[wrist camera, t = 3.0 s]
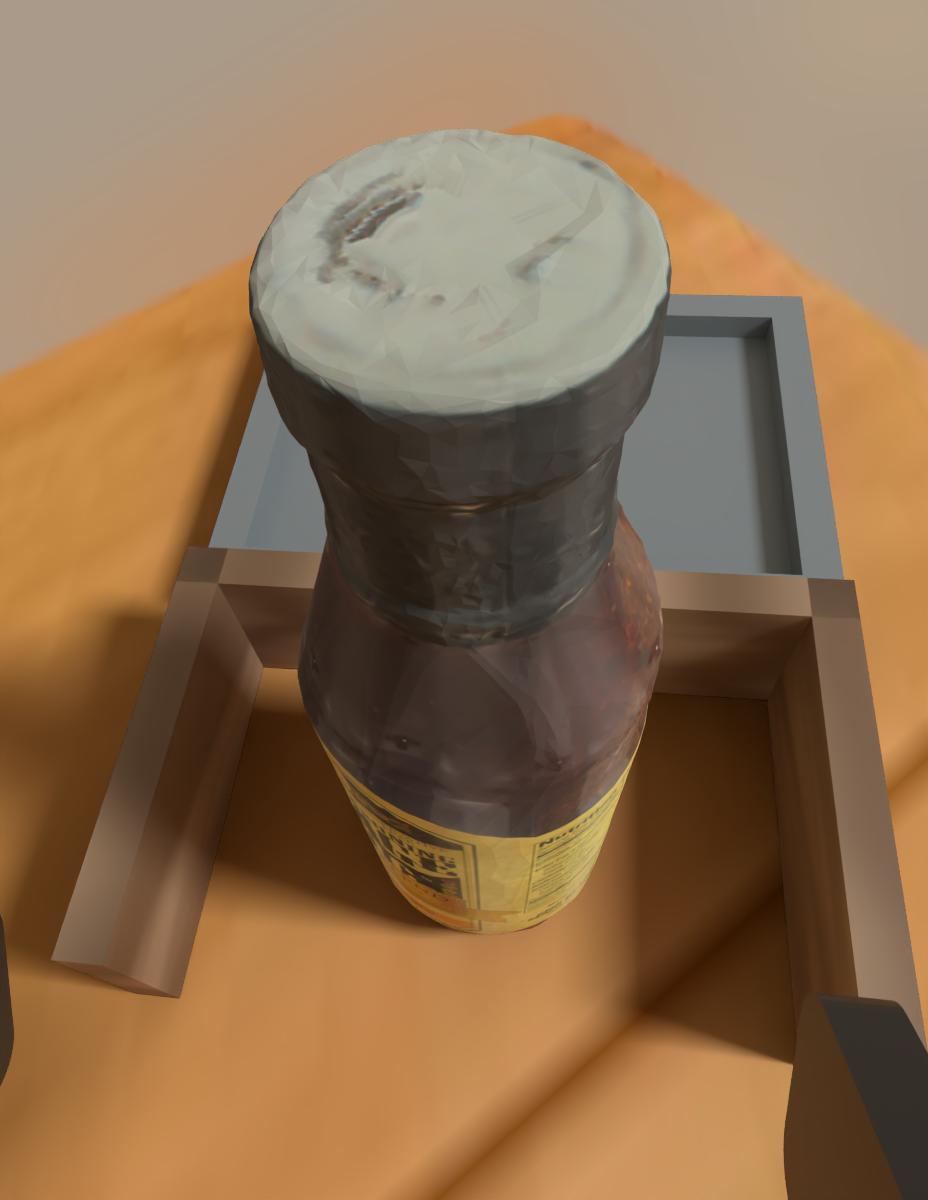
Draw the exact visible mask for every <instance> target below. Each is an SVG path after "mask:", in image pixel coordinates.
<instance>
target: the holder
mask: <svg viewBox="0 0 928 1200" xmlns="http://www.w3.org/2000/svg"><path fill="white" fill-rule="evenodd" d="M321 557H322V553H313V552H293V551H274V550H254V549H235V548H215V547H196V546H188V547H187V550H186V553H185V556H184V559H183V562H182V565H181V568H180V571H179V574H178V577H177V580H176V583H175V586H174V589H173V592H172V595H171V598H170V601H169V604H168V607H167V610H166V613H165V617H164V620H163V623H162V626H161V629H160V632H159V635H158V638H157V641H156V644H155V647H154V650H153V653H152V656H151V659H150V662H149V665H148V668H147V671H146V674H145V677H144V680H143V683H142V686H141V689H140V692H139V695H138V698H137V701H136V704H135V707H134V710H133V713H132V716H131V719H130V722H129V725H128V728H127V731H126V734H125V737H124V740H123V743H122V746H121V750H120V753H119V756H118V759H117V762H116V765H115V768H114V771H113V774H112V777H111V780H110V783H109V786H108V789H107V792H106V795H105V798H104V801H103V804H102V807H101V810H100V813H99V816H98V819H97V822H96V825H95V828H94V831H93V834H92V837H91V840H90V843H89V846H88V849H87V852H86V855H85V858H84V861H83V864H82V867H81V870H80V873H79V876H78V879H77V882H76V886H75V889H74V892H73V895H72V898H71V901H70V904H69V907H68V910H67V913H66V916H65V919H64V922H63V925H62V928H61V931H60V934H59V937H58V940H57V943H56V946H55V949H54V952H53V955H52V958H51V960H52V961H54V962H57V963H60V964H62V965H65V966H67V967H70V968H72V969H75V970H77V971H80V972H83V973H85V974H88V975H90V976H93V977H95V978H98V979H100V980H103V981H105V982H108V983H111V984H113V985H116V986H118V987H121V988H123V989H126V990H128V991H131V992H133V993H136V994H143V995H153V996H162V997H171V998H180V995H181V991H182V987H183V983H184V979H185V975H186V971H187V967H188V963H189V959H190V955H191V951H192V947H193V943H194V939H195V935H196V931H197V927H198V923H199V919H200V916H201V912H202V908H203V904H204V900H205V896H206V892H207V888H208V884H209V880H210V876H211V872H212V868H213V864H214V860H215V856H216V852H217V848H218V844H219V840H220V836H221V832H222V828H223V825H224V821H225V817H226V813H227V809H228V805H229V801H230V797H231V793H232V789H233V785H234V781H235V777H236V773H237V769H238V765H239V761H240V757H241V753H242V749H243V745H244V741H245V737H246V733H247V730H248V726H249V722H250V718H251V714H252V710H253V706H254V702H255V698H256V694H257V690H258V686H259V682H260V678H261V674H262V670H263V667H274V668H289V669H298V651H299V644H300V639H301V635H302V631H303V627H304V623H305V619H306V616H307V612H308V608H309V604H310V600H311V596H312V593H313V589H314V585H315V582H316V578H317V574H318V570H319V566H320V562H321ZM653 571H654V575H655V578H656V582H657V588H658V593H659V595H660V597H661V611H662V618H663V632H662V634H663V643H662V644H663V650H662V654H661V657H660V663H659V668H658V673H657V676H656V680H655V684H654V688H653V693H668V694H683V695H699V696H714V697H729V698H744V699H759V700H767V705H768V717H769V729H770V740H771V752H772V763H773V775H774V787H775V798H776V810H777V821H778V833H779V845H780V856H781V868H782V879H783V891H784V903H785V914H786V926H787V937H788V949H789V961H790V972H791V984H792V996H793V1007H794V1019H795V1030H796V1042H797V1036H798V1029H799V1022H800V1015H801V1009H802V1005H803V1002H804V999H805V997H806V995H807V994H808V993H810V992H816V993H826V994H835V995H845V996H855V997H864V998H874V999H884V1000H893V1001H896V1002H897V1003H899V1004H900V1005H901V1007H902V1008H903V1009H904V1011H905V1012H906V1014H907V1016H908V1018H909V1020H910V1021H911V1023H912V1025H913V1027H914V1029H915V1031H916V1032H917V1034H918V1036H919V1038H920V1040H921V1042H922V1043H923V1045H924V1047H925V1049H926V1051H927V1053H928V1050H927V1044H926V1037H925V1031H924V1025H923V1018H922V1012H921V1005H920V999H919V993H918V986H917V980H916V973H915V967H914V961H913V954H912V948H911V941H910V935H909V929H908V922H907V916H906V909H905V903H904V897H903V890H902V884H901V877H900V871H899V864H898V858H897V852H896V845H895V839H894V832H893V826H892V820H891V813H890V807H889V800H888V794H887V788H886V781H885V775H884V768H883V762H882V756H881V749H880V743H879V736H878V730H877V724H876V717H875V711H874V704H873V698H872V692H871V685H870V679H869V672H868V666H867V660H866V653H865V647H864V640H863V634H862V628H861V621H860V615H859V608H858V602H857V595H856V589H855V583H854V580H840V579H820V578H801V577H781V576H762V575H742V574H723V573H703V572H684V571H664V570H653Z"/></svg>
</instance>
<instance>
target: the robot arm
mask: <svg viewBox="0 0 928 1200" xmlns="http://www.w3.org/2000/svg"><path fill="white" fill-rule="evenodd" d="M13 1042H14V1028H13V1018H12V1008H11V998H10V988H9V978H8V968H7V958H6V948H5V937H4V928H3V922H2V918H1V916H0V1086H1V1084H2V1082H3V1079H4V1077H5V1074H6V1072H7V1069H8V1066H9V1063H10V1059H11V1055H12V1050H13ZM784 1170H785V1180H786V1188H787V1195H788V1200H928V1053H927V1051H926V1049H925V1047H924V1045H923V1043H922V1042H921V1040H920V1038H919V1036H918V1034H917V1032H916V1031H915V1029H914V1027H913V1025H912V1023H911V1021H910V1020H909V1018H908V1016H907V1014H906V1012H905V1011H904V1009H903V1008H902V1007H901V1005H900V1004H899V1003H897V1002H896V1001H893V1000H884V999H874V998H864V997H855V996H845V995H835V994H826V993H816V992H810V993H808V994H807V995H806V997H805V999H804V1002H803V1005H802V1009H801V1015H800V1022H799V1029H798V1036H797V1043H796V1050H795V1057H794V1064H793V1072H792V1079H791V1086H790V1093H789V1100H788V1107H787V1114H786V1121H785V1130H784Z"/></svg>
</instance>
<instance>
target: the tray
mask: <svg viewBox="0 0 928 1200" xmlns="http://www.w3.org/2000/svg"><path fill="white" fill-rule="evenodd" d="M617 480H618V489H617V499H618V501H619V502H620V504H621V505H622V508H623V512H624V514H625V516H626V518H627V519H628V521H629V523H630V524H631V526H632V528H633V529H634V531H635V532H636V533H637V535H638V536H639V537H640V539H641V540H642V542H643V546H644V550H645V553H646V555H647V557H648V559H649V561H650V564H651V566H652V569H653V570H664V571H684V572H703V573H723V574H742V575H762V576H781V577H801V578H820V579H840V580H844V576H843V569H842V563H841V556H840V549H839V543H838V536H837V529H836V522H835V516H834V509H833V502H832V496H831V489H830V482H829V475H828V469H827V462H826V455H825V449H824V442H823V435H822V428H821V422H820V415H819V408H818V402H817V395H816V388H815V381H814V375H813V368H812V361H811V355H810V348H809V341H808V334H807V328H806V321H805V314H804V308H803V301H802V297H789V296H734V295H678V294H670V298H669V302H668V308H667V315H666V323H665V331H664V338H663V345H662V350H661V355H660V363H659V366H658V369H657V373H656V376H655V379H654V383H653V386H652V390H651V394H650V397H649V399H648V400H647V402H646V404H645V406H644V407H643V409H642V410H641V411H640V413H639V414H638V416H637V417H636V419H635V420H634V422H633V424H632V425H631V426H630V428H629V429H628V430H627V431H626V432H625V435H624V442H623V449H622V456H621V461H620V466H619V472H618V477H617ZM326 537H327V530H326V526H325V516H324V503H323V500H322V497H321V493H320V489H319V487H318V484H317V481H316V478H315V476H314V473H313V471H312V469H311V466H310V463H309V458H308V454H307V451H306V449H305V448H304V447H303V446H301V445H300V444H299V443H298V442H297V441H296V439H295V438H294V437H293V436H292V435H291V433H290V432H289V430H288V429H287V427H286V425H285V424H284V422H283V420H282V418H281V417H280V414H279V412H278V409H277V407H276V404H275V402H274V399H273V397H272V395H271V392H270V390H269V387H268V385H267V377H266V373H265V369H264V372H263V375H262V378H261V382H260V385H259V388H258V391H257V394H256V397H255V401H254V404H253V407H252V410H251V413H250V416H249V420H248V423H247V426H246V429H245V432H244V435H243V439H242V442H241V445H240V448H239V451H238V454H237V458H236V461H235V464H234V467H233V470H232V473H231V477H230V480H229V483H228V486H227V489H226V492H225V496H224V499H223V502H222V505H221V508H220V512H219V515H218V518H217V521H216V524H215V527H214V531H213V534H212V537H211V540H210V543H209V546H208V547H215V548H235V549H254V550H274V551H293V552H313V553H323V549H324V545H325V541H326Z"/></svg>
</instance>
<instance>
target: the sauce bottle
mask: <svg viewBox="0 0 928 1200" xmlns="http://www.w3.org/2000/svg"><path fill="white" fill-rule="evenodd" d="M671 273H672V269H671V262H670V254H669V246H668V243H667V241H666V238H665V235H664V231H663V228H662V224H661V221H660V220H659V218H658V217H657V215H656V213H655V212H654V210H653V209H652V207H651V206H650V205H649V204H648V203H647V202H646V201H645V200H644V199H643V198H641V197H640V196H639V195H638V194H637V193H636V192H635V191H634V190H633V189H632V188H631V187H630V186H629V185H628V184H627V183H626V182H625V181H623V180H622V179H621V178H620V177H619V176H618V175H617V174H616V173H615V172H614V171H613V170H612V169H611V168H610V167H609V166H608V165H607V164H606V163H605V162H603V161H601V160H599V159H597V158H595V157H593V156H591V155H589V154H587V153H585V152H583V151H580V150H578V149H576V148H573V147H571V146H568V145H565V144H562V143H559V142H556V141H553V140H550V139H547V138H542V137H537V136H532V135H506V134H501V133H495V132H490V131H486V130H477V129H463V130H440V131H431V132H424V133H419V134H416V135H411V136H407V137H403V138H397V139H394V140H391V141H387V142H383V143H380V144H376V145H372V146H369V147H367V148H365V149H362V150H360V151H358V152H356V153H354V154H352V155H350V156H348V157H345V158H343V159H341V160H339V161H337V162H335V163H334V164H332V165H331V166H329V167H328V168H326V169H325V170H323V171H322V172H320V173H318V174H316V175H314V176H312V177H310V178H309V179H308V180H307V181H306V182H305V183H304V184H303V185H302V186H301V187H299V188H298V190H297V191H296V192H295V193H294V194H293V195H292V196H291V198H290V199H289V200H288V201H287V202H286V203H285V204H284V206H283V207H282V208H281V209H280V210H279V211H278V212H277V214H276V215H275V217H274V219H273V220H272V222H271V224H270V225H269V227H268V229H267V231H266V233H265V234H264V236H263V237H262V239H261V241H260V243H259V245H258V248H257V251H256V254H255V257H254V260H253V263H252V266H251V271H250V278H249V310H250V316H251V319H252V323H253V326H254V330H255V333H256V336H257V341H258V344H259V346H260V352H261V358H262V362H263V365H264V369H265V373H266V377H267V385H268V387H269V390H270V392H271V395H272V397H273V399H274V402H275V404H276V407H277V409H278V412H279V414H280V417H281V418H282V420H283V422H284V424H285V425H286V427H287V429H288V430H289V432H290V433H291V435H292V436H293V437H294V438H295V439H296V441H297V442H298V443H299V444H300V445H301V446H303V447H304V448H305V449H306V451H307V454H308V458H309V463H310V466H311V469H312V471H313V473H314V476H315V478H316V481H317V484H318V487H319V489H320V493H321V497H322V500H323V503H324V516H325V526H326V530H327V537H326V541H325V545H324V549H323V553H322V557H321V562H320V566H319V570H318V574H317V578H316V582H315V585H314V589H313V593H312V596H311V600H310V604H309V608H308V612H307V616H306V619H305V623H304V627H303V631H302V635H301V639H300V644H299V651H298V679H299V685H300V691H301V696H302V700H303V704H304V707H305V709H306V711H307V714H308V716H309V719H310V721H311V723H312V725H313V727H314V729H315V731H316V733H317V735H318V737H319V740H320V742H321V744H322V746H323V748H324V750H325V752H326V754H327V756H328V757H329V759H330V761H331V763H332V765H333V767H334V769H335V771H336V773H337V775H338V777H339V779H340V781H341V783H342V786H343V787H344V789H345V791H346V793H347V796H348V797H349V799H350V801H351V803H352V805H353V807H354V809H355V811H356V813H357V815H358V816H359V818H360V820H361V822H362V824H363V826H364V828H365V830H366V832H367V834H368V836H369V838H370V840H371V842H372V843H373V845H374V847H375V849H376V851H377V853H378V855H379V857H380V859H381V861H382V863H383V865H384V867H385V869H386V871H387V873H388V875H389V876H390V878H391V880H392V882H393V884H394V885H395V886H396V888H397V889H398V890H399V891H400V892H401V894H402V895H403V896H404V897H405V898H406V899H407V900H408V901H409V903H410V904H411V905H412V906H414V907H415V908H416V909H418V910H419V911H420V912H421V913H423V914H425V915H426V916H428V917H429V918H431V919H433V920H435V921H437V922H438V923H440V924H442V925H443V926H445V927H446V928H449V929H452V930H461V931H465V932H469V933H475V934H504V933H509V932H516V931H521V930H526V929H530V928H533V927H535V926H537V925H539V924H541V923H542V922H544V921H545V920H547V918H549V917H551V916H552V915H554V914H556V913H557V912H559V911H560V910H561V909H562V908H563V907H565V906H566V905H567V904H568V903H569V902H571V901H572V900H573V899H574V898H575V897H576V896H577V895H578V894H579V892H580V890H581V889H582V887H583V886H584V884H585V882H586V881H587V879H588V877H589V875H590V873H591V871H592V869H593V867H594V865H595V863H596V860H597V858H598V855H599V852H600V850H601V847H602V844H603V842H604V839H605V836H606V834H607V831H608V829H609V826H610V822H611V819H612V816H613V813H614V811H615V808H616V805H617V803H618V800H619V797H620V795H621V792H622V790H623V787H624V784H625V781H626V778H627V776H628V773H629V770H630V767H631V765H632V762H633V759H634V757H635V754H636V751H637V749H638V746H639V743H640V740H641V736H642V733H643V729H644V726H645V722H646V715H647V709H648V703H649V701H650V700H651V696H652V692H653V688H654V684H655V680H656V676H657V673H658V668H659V663H660V657H661V654H662V650H663V644H662V643H663V634H662V632H663V618H662V611H661V597H660V595H659V593H658V588H657V582H656V578H655V575H654V571H653V569H652V566H651V564H650V561H649V559H648V557H647V555H646V553H645V550H644V546H643V542H642V540H641V539H640V537H639V536H638V535H637V533H636V532H635V531H634V529H633V528H632V526H631V524H630V523H629V521H628V519H627V518H626V516H625V514H624V512H623V508H622V505H621V504H620V502H619V501H618V499H617V489H618V480H617V477H618V472H619V466H620V461H621V456H622V449H623V442H624V435H625V432H626V431H627V430H628V429H629V428H630V426H631V425H632V424H633V422H634V420H635V419H636V417H637V416H638V414H639V413H640V411H641V410H642V409H643V407H644V406H645V404H646V402H647V400H648V399H649V397H650V394H651V390H652V386H653V383H654V379H655V376H656V373H657V369H658V366H659V363H660V355H661V350H662V345H663V338H664V331H665V323H666V315H667V308H668V302H669V298H670V283H671Z"/></svg>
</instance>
